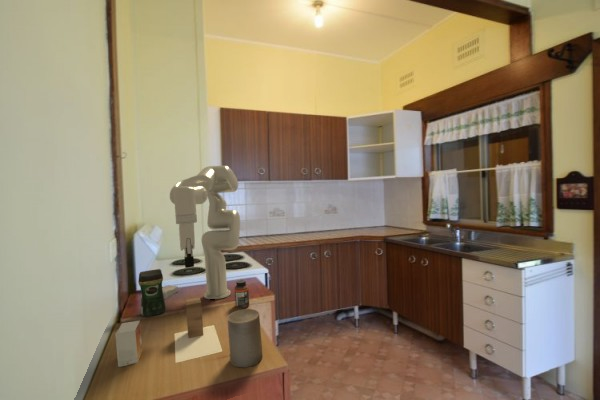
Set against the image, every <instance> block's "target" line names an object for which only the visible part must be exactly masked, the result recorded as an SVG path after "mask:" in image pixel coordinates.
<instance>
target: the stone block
mask: <svg viewBox="0 0 600 400" xmlns="http://www.w3.org/2000/svg"><path fill="white" fill-rule="evenodd" d="M162 290H163V295H164V300H167V299H169V298H171V297H172V296H173V295H175V294H177V293H178V292H179V286H178V285H173V284H172V285H169V284H167V285H164V286H162ZM176 292H177V293H176Z"/></svg>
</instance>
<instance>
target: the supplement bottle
mask: <svg viewBox="0 0 600 400" xmlns="http://www.w3.org/2000/svg"><path fill="white" fill-rule="evenodd" d="M234 298H235V299H234V300H235V308H238V309H247V308H248V307H249V306H250V293H249V286H248V284H247V282H246V279H238V280H236V285H235V286H234Z"/></svg>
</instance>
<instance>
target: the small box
mask: <svg viewBox="0 0 600 400" xmlns="http://www.w3.org/2000/svg"><path fill="white" fill-rule="evenodd" d="M114 335H115V348H116V359H117V367H118V368H121V367H126V366H130V365H133V364H138V363H139V361H140V359H141V355H142V353H143V343H142V342H143V340H142V328H141V320H134V321H129V322H123V323H121V324H120V326H119V328H118V329H117V331H116V332H115V334H114Z"/></svg>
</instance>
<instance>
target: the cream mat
mask: <svg viewBox="0 0 600 400" xmlns="http://www.w3.org/2000/svg"><path fill="white" fill-rule="evenodd" d="M222 352H223V349H222V345H221V343H220V340H219V336H218V332H217V330H216V328H215V325H214V324H213V325H208V326H203V335H202V336H197V337H193V338H188V330H183V331H180V332H176V333H174V354H175V364H177V363H182V362H185V361H189V360H193V359H198V358H202V357H205V356H206V357H207V356H209V355H213V354H214V355H215V354H218V353H222Z"/></svg>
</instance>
